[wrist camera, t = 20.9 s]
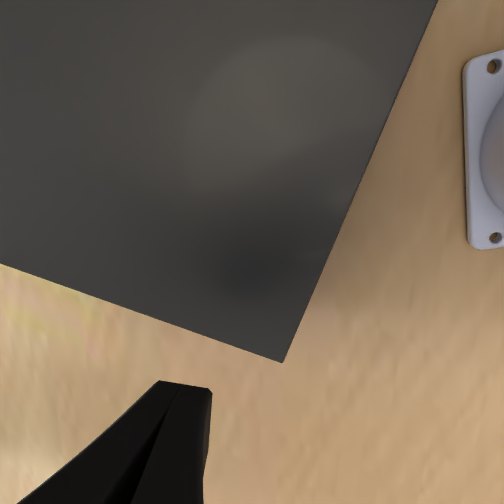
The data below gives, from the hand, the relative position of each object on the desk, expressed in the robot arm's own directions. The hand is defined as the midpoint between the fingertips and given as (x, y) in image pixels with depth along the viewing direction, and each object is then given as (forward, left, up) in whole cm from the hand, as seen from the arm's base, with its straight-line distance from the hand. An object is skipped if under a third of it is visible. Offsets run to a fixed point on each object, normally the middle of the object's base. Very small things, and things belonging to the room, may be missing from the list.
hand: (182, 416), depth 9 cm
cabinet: (+1, -7, -10) cm, 13 cm away
